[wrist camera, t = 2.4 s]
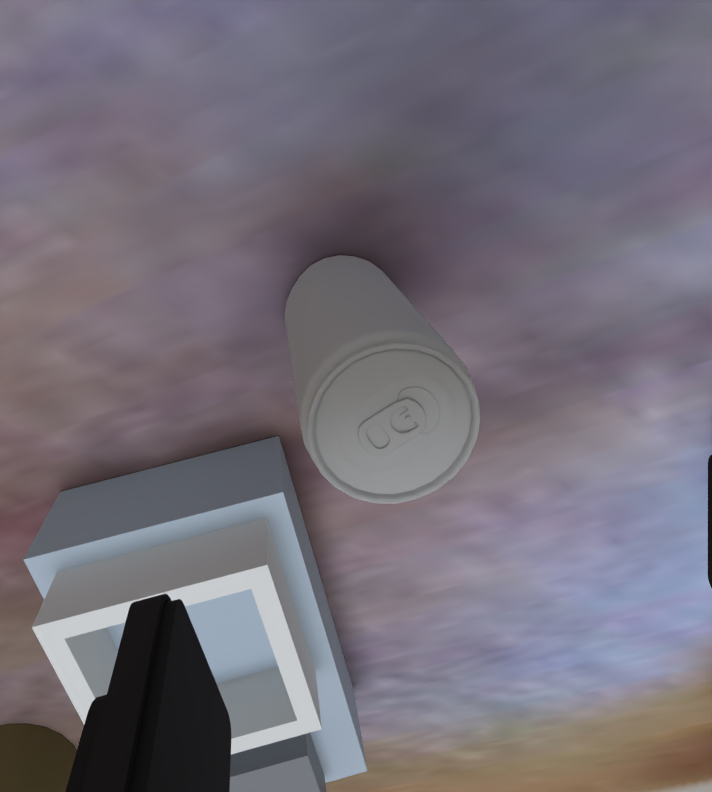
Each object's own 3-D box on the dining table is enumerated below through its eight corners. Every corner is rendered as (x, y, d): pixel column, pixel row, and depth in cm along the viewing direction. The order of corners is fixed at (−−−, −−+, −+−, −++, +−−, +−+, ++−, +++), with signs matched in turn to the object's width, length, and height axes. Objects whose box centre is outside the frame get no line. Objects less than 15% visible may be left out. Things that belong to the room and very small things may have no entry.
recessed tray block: (60, 491, 29) (-7, 614, 22) (278, 435, 30) (286, 537, 22) (191, 775, 37) (175, 936, 29) (364, 726, 37) (390, 874, 30)
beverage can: (416, 324, 29) (516, 447, 18) (323, 383, 29) (364, 539, 18) (358, 229, 27) (430, 300, 16) (260, 294, 27) (263, 406, 16)
